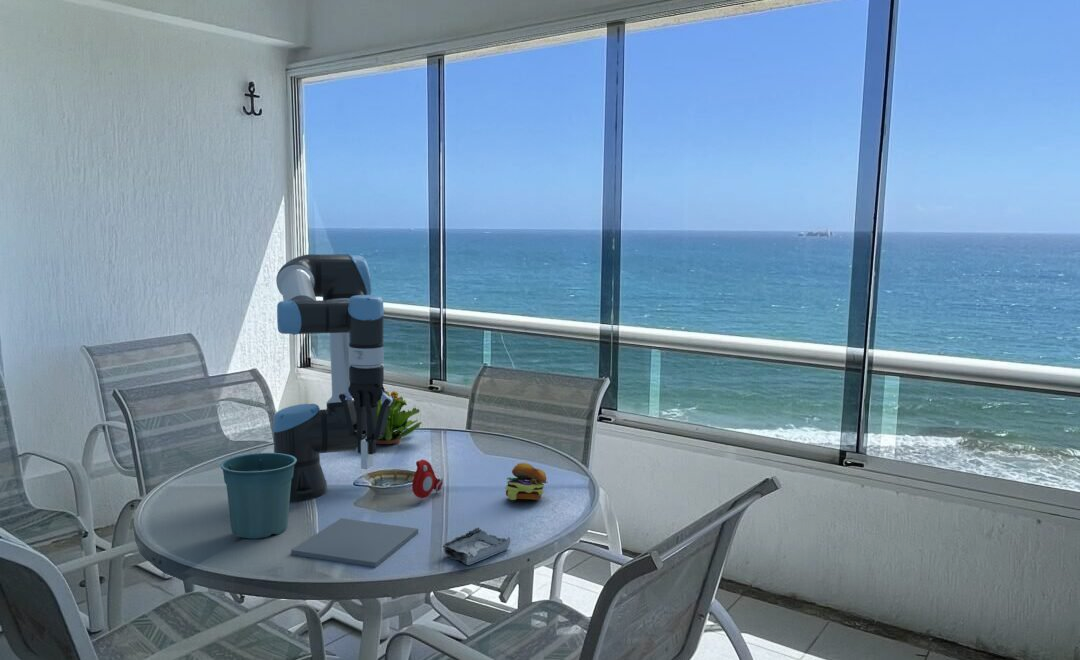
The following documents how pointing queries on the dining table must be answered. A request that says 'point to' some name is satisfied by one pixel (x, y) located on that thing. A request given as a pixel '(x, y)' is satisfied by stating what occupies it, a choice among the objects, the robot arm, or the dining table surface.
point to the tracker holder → (425, 480)
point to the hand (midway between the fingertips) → (366, 467)
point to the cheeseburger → (526, 482)
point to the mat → (356, 542)
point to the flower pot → (258, 493)
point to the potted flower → (397, 421)
